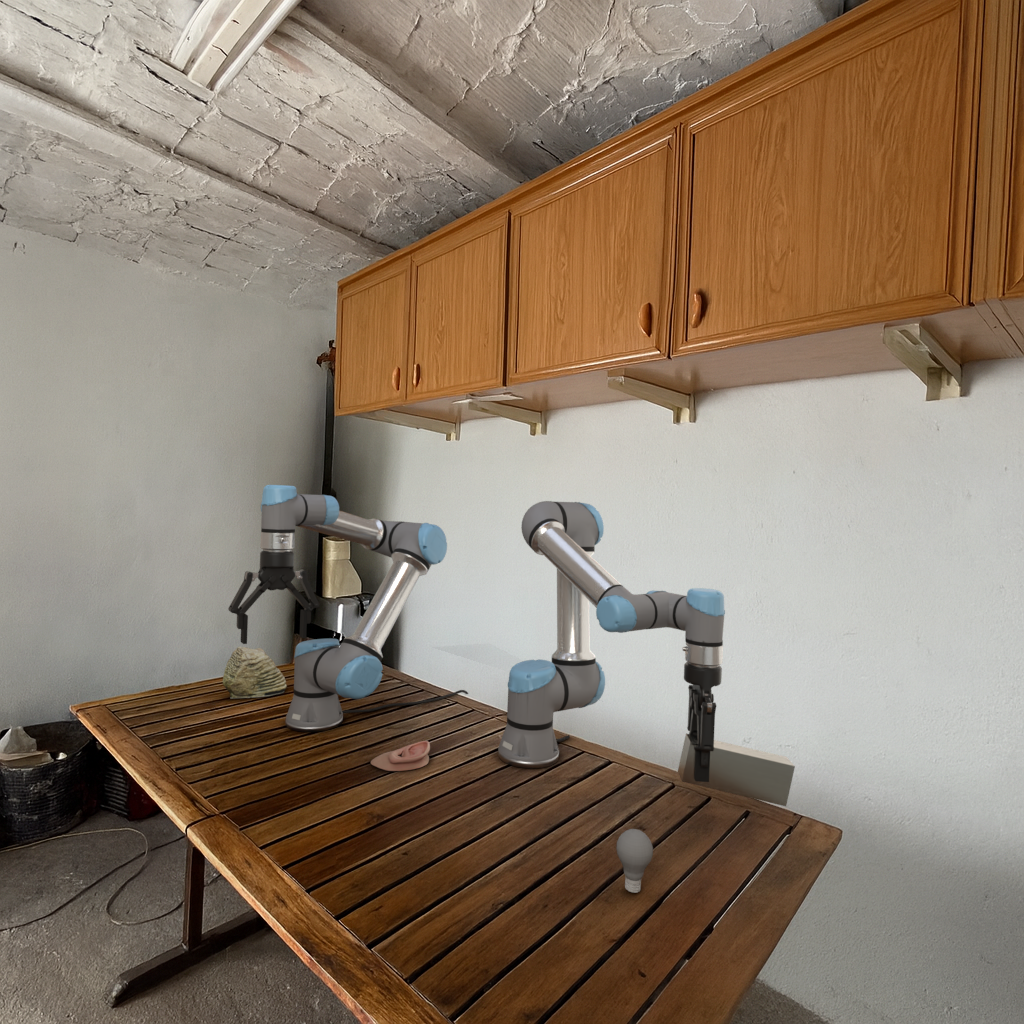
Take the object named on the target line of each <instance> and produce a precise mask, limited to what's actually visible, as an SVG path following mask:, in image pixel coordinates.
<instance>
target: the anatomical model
mask: <svg viewBox="0 0 1024 1024" xmlns="http://www.w3.org/2000/svg"><path fill="white" fill-rule="evenodd" d="M430 751H431V743H430V742H429V741H428V740H423V741H417V742H415V743H412V744H408V745H405V746H403V747H399V748H398V749H394V750H391V751H387V752H384V753H381V754H380V755H377V756H376V757H374V758H373V759H371V761H370V764H371V765H372V766H373V767H375V768H378V769H380V770H383V771H387V772H400V771H401V772H402V771H411V770H415V769H421V768H423V767H425V766H427V765H428V764H429V761H430V757H429V755H428V754H429V753H430Z"/></svg>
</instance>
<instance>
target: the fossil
mask: <svg viewBox="0 0 1024 1024" xmlns="http://www.w3.org/2000/svg"><path fill="white" fill-rule="evenodd" d="M222 676H223V677H222V685H223V687H224V688H225V690H226V691H228V693H229V698H230V699H250V698H264V697H271V696H275V695H281V694H284V693H285V691H286V689H287V687H288V686H287V680H286V678H285V676H284V674H283V673H282V672H281V669H279V668H278V667H277V665H276V663H275V662H274V660H273V659H272V658H271V657H270V656H269V655H268V654H267V653H266V652H265V650H264V649H263V648H260V647H258V648H251V647H247V646H246V647H245V646H238V647H237V648H236V649H235V650H233V651H232V653H231V656H230V657H229V659H228V660H227V663H226V666H225V668H224V671H223V675H222Z"/></svg>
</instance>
